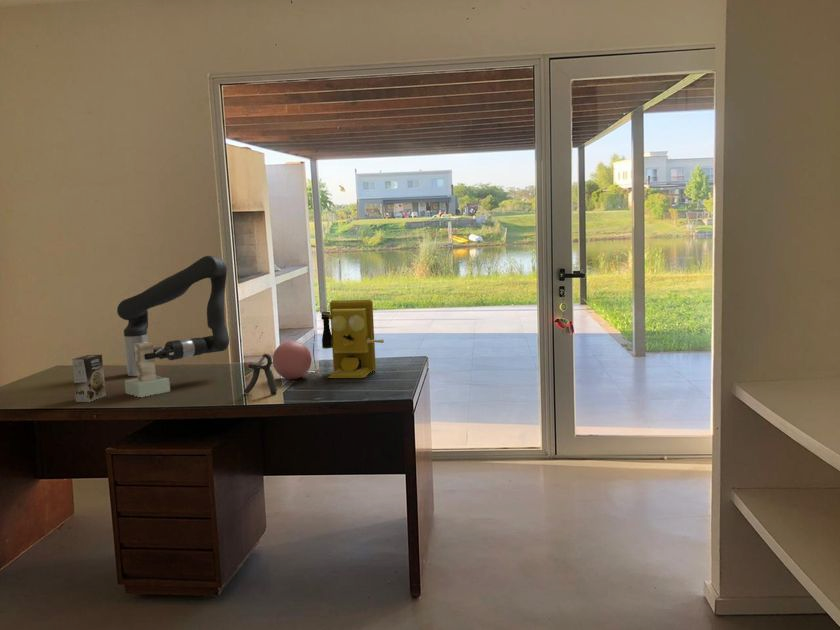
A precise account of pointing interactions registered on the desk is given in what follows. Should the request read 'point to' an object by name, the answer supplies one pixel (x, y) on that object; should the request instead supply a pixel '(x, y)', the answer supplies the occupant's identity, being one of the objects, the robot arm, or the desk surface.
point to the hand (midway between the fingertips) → (139, 355)
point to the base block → (147, 386)
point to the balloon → (292, 360)
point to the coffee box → (88, 378)
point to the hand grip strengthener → (267, 372)
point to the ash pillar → (144, 362)
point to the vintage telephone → (350, 338)
